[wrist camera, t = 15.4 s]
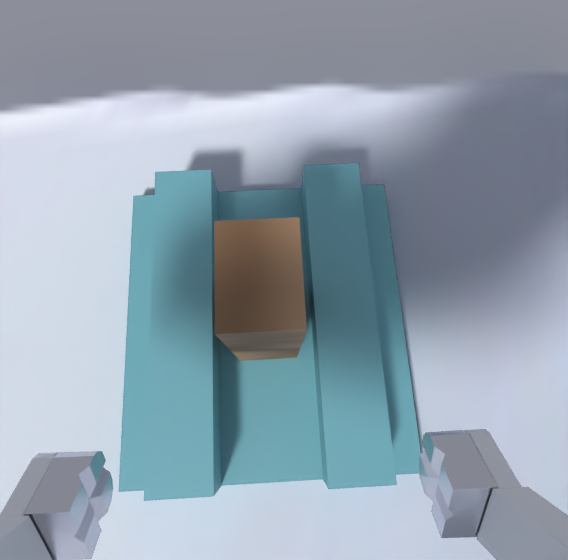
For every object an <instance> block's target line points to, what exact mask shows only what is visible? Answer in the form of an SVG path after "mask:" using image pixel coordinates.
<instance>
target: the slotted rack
mask: <svg viewBox="0 0 568 560" xmlns="http://www.w3.org/2000/svg"><path fill="white" fill-rule="evenodd" d="M294 217H299V219H300V234H301V249H302V264H303V279H304V294H305V309H306V324H307V331H306V333H305V336H304V339H303V342H302V345H301V347H300V350H299V353H298V356H297V358H285V359H266V360H246V361H240V360H239V359H238V358H237V357H236V356H235V355H234V354H233V353H232V352H231V351H230V349H229V348H228V347H227V346H226V345H225V344H224V343H223V342H222V341H221V340H220V339H219V338H218V337H217V336H216V335H215V267H214V221H226V220H248V219H271V218H294ZM420 454H421V451H420V444H419V436H418V429H417V422H416V414H415V407H414V400H413V392H412V385H411V378H410V370H409V363H408V356H407V348H406V341H405V334H404V326H403V319H402V312H401V304H400V297H399V290H398V282H397V275H396V268H395V260H394V253H393V246H392V238H391V231H390V224H389V216H388V209H387V202H386V194H385V187H384V184H380V185H361V180H360V171H359V163H347V164H325V165H304V166H303V176H302V187H301V188H292V189H271V190H249V191H227V192H218V191H217V187H216V184H215V181H214V177H213V174H212V171H211V170H190V171H168V172H155V195H140V196H133V216H132V236H131V256H130V276H129V296H128V316H127V336H126V356H125V376H124V396H123V416H122V436H121V456H120V476H119V492H124V491H140V490H144V501H147V500H163V499H179V498H195V497H211V496H214V495H215V494H216V492H217V491H218V490H219V488H220V487H221V485H237V484H253V483H269V482H285V481H301V480H318V479H323V480H324V482H325V484H326V485H327V487H328V489H339V488H355V487H371V486H387V485H397V482H396V475H398V474H414V473H419V458H420Z"/></svg>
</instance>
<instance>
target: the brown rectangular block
mask: <svg viewBox="0 0 568 560" xmlns="http://www.w3.org/2000/svg"><path fill="white" fill-rule="evenodd" d="M214 267H215V335H216V336H217V337H218V338H219V339H220V340H221V341H222V342H223V343H224V344H225V345H226V346H227V347H228V348H229V349H230V351H231V352H232V353H233V354H234V355H235V356H236V357H237V358H238V359H239V360H240V361H246V360H266V359H285V358H297V356H298V353H299V350H300V347H301V345H302V342H303V339H304V336H305V333H306V331H307V324H306V309H305V294H304V279H303V264H302V249H301V234H300V219H299V217H294V218H271V219H248V220H226V221H214Z"/></svg>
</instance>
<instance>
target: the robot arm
mask: <svg viewBox="0 0 568 560" xmlns="http://www.w3.org/2000/svg"><path fill="white" fill-rule="evenodd" d="M422 444H423V446H424V449H425V451H424V452H422V453H421V454H420V458H419V474H420V479H421V483H422V486H423V489H424V492H425V494H426V495H427V496H428V497H429V498H431V499H432V500H433V505H432V510H431V512H432V514H433V517H434V520H435V522H436V525H437V528H438V531H439V533H440V536H441V538H459V537H477V540H478V541H479V542H480V543H481V544H482V545H483V546H484V547H485V548H486V549H487V550H488V551H489V552H490V553H491V554H492V556H493V557H494V558H495V559H496V560H568V515H566V514H565V513H564V512H562V511H561V510H559V509H558V508H557V507H555V506H554V505H552V504H551V503H550V502H548V501H547V500H546V499H544V498H543V497H541V496H540V495H539V494H537V493H536V492H534V491H533V490H532V489H530V488H529V487H521V485H520V483H519V481H518V480H517V478H516V476H515V475H514V473H513V471H512V470H511V468H510V466H509V465H508V463H507V461H506V460H505V458H504V456H503V455H502V453H501V451H500V450H499V448H498V446H497V445H496V443H495V441H494V439H493V438H492V436H491V434H490V433H489V432H488V431H487V430H486V429H479V430H465V431H464V430H455V431H441V432H426V433H425V434H424V436H423V441H422ZM105 461H106V460H105V457H104V455H103V453H102V451H93V452H59V453H38V454H37V455H36V456H35V457H34V458H33V459H32V460H31V462H30V464H29V465H28V467H27V469H26V471H25V472H24V474H23V476H22V478H21V479H20V481H19V483H18V484H17V486H16V488H15V490H14V491H13V493H12V495H11V497H10V498H9V500H8V502H7V503H6V505H5V507H4V509H3V510H2V512H1V514H0V560H83V559H91V558H92V555H93V553H94V550H95V547H96V544H97V541H98V538H99V535H100V532H101V528H100V525H99V523H98V521H99V520H100V519H101V518H102V517H103V516H104V515H105V514H106V513H107V512H108V509H109V506H110V503H111V499H112V491H113V483H112V477H111V474H110V472H109V471H107V470H106V469H105V468H103V466H104V463H105Z"/></svg>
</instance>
